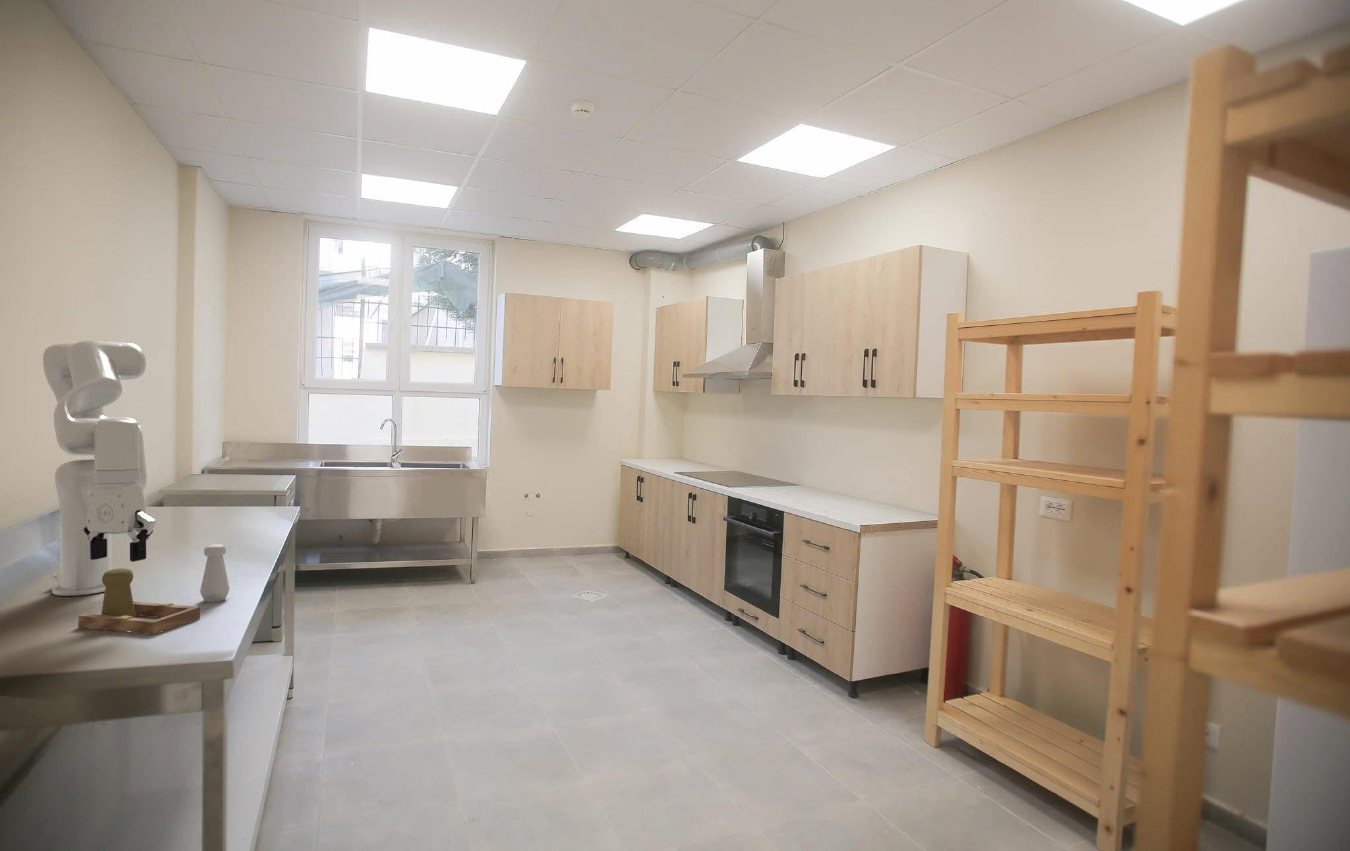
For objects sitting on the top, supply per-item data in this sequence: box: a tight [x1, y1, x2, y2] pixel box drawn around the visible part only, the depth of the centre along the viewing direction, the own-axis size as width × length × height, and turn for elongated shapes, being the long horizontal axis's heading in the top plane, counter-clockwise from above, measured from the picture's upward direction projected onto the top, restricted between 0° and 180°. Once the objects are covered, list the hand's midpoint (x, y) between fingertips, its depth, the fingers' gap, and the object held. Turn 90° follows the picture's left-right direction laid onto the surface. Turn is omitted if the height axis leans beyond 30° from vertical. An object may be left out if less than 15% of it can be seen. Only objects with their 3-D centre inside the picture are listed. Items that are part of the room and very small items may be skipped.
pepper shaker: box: [100, 567, 137, 618], centre depth 151 cm, size 6×6×11 cm
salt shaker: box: [199, 543, 231, 603], centre depth 167 cm, size 6×6×13 cm
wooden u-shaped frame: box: [77, 600, 201, 635], centre depth 150 cm, size 18×11×3 cm, turn 80°
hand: (118, 559), depth 150 cm, fingers open, 9 cm apart
